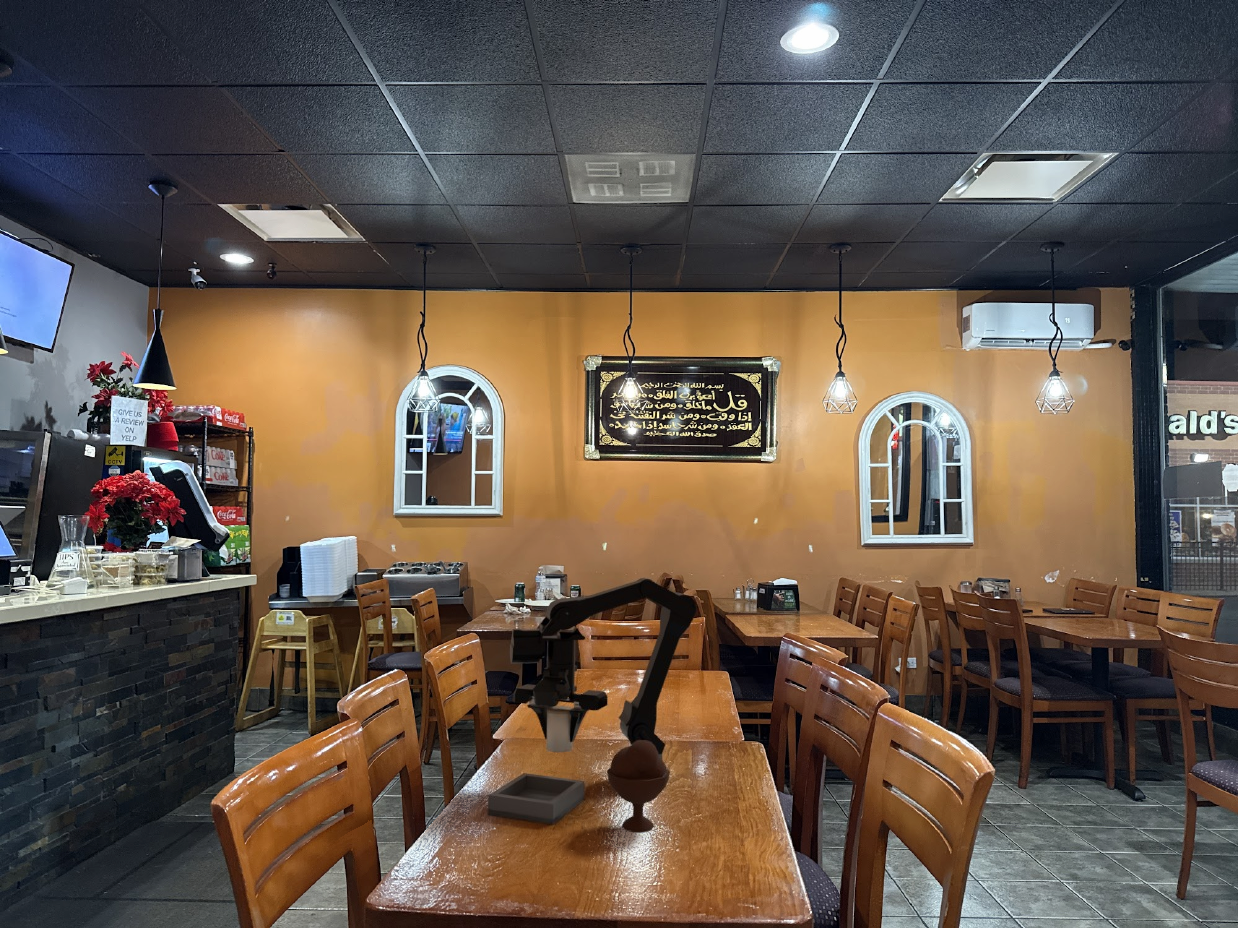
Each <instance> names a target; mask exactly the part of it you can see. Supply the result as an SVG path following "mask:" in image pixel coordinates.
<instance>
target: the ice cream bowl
mask: <svg viewBox="0 0 1238 928" xmlns="http://www.w3.org/2000/svg"><path fill="white" fill-rule="evenodd" d="M606 772H607V773H606V774H607V779H608V782H609V784H610V786H611V788H612V789H613V790H614V791H615V792H616V794H618V796H619V797H620V798H621V799H623V800H624V801H625V802H629V803H631V804H632V808H633V810H632V811H633V812H632V816H630V817H629V818H627V819H625V820H624V821H623V822H622V825H621V826H622V828H623V830H625V831H628V832H632V833H645V832H649V831H651V830H652V829H654V827H655V826H654V823H653V821H652V820H650V819H649V818H647V817H645V816H644V806H645V804H646V803H649V802H651V801H653V800H655V799H656V798H657V797H658V796H659V795H660V793H662V792H663V790H664V789H666V787H667V784H668V782H669V779H670V774H671V771H670V770H669V769H668V767H667V766H666V764H665V762H664V760H663V759H662V760H661V759H660V758H659V754H658V751H657V749H656V747H655V746H654V745H653V744H652V742H650V741H647V740H637V741H635V742H634V743H633V744H632V745H631V744H630V745H629V746H625V747H623V748H620V749H619V750H618V751H617V752H616V753H615V754H614V756H613V757H612V759H611V762H610V767H609V769H606ZM652 831H653V830H652Z"/></svg>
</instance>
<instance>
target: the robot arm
mask: <svg viewBox="0 0 1238 928" xmlns="http://www.w3.org/2000/svg"><path fill="white" fill-rule="evenodd" d="M644 599H646V600H648V601H650V602H651V603H653V604H655V605H656V606H658V607H660V608H661V610H660V615H659V631H658V635H657V638H656V641H655V644H654V646H653V650H652V652H651V655H650V658H649V660H648V663H647V666H646V670H645V672H644V675H643V678H642V680H641V684H640V687H639V689H638V692H637V694H636V696H635V697H634V698H633V700H632V701H631V702H630V701H629V700H626V699H625V700H624V703H623V707H622V712H621V714H620V715H619V716H618V719H619V720H620V722H619V729H620V731H621V733H622V734H623V736H624V737H625V738H626V739H627V740H628V741H629V744H630V746H631V745H632V744H633V743H634V742H635V741H637V740H647V741H650V742H652V744H653V745H654V746H655V747H656V749H657V751H658V754H659V758H660V759H661V760H663V753H664V750H665V747H666V744H665V742H664V741H663V739H661V738H660V737H659V736H658V735H657V734H656V733H655V731H656V726H657V725H656V724H657V717H658V715H657V714H658V713H657V710H658V702H659V698H660V696H661V693H662V690H663V688H664V684H665V681H666V679H667V675H668V673H669V671H670V666H671V665H672V662H673V658H674V656H675V653H676V650H677V646H678V644H679V642H680V639H681V638H682V637H683V635H684V633H686V632H687V630H688V629H689V627H690V626H691V624H692V622H693V620H694V619H695V616H696V614H697V611H698V605H697V603H696V601H695V600H694V598H693V597H692V596H690V595H688V594H685V593H681V592H675V591H674V592H673V591H671V590H669V589H667V588H665V587H663V586H661V585H660V584H658V583H656V581H654V580H652V579H650V578H646V577H640V578H638V579H637V580H635V581H631V582H629V583H625V584H622V585H619V586H616V587H612V588H610V589H607V590H602V591H600V592H596V593H593V594H589V595H586V596H572V597H566V598H565V597H564V598H557V599H554V600H552V601H551V602H550V603H549V604H548V606H547V608H546V613H545V616H544V618H543V619H542V620H541V622H540V623H539V625H538V626H537V627H536V628H535V629H522V628H513V629H512V630H511V633H512V634H511V639H510V640H511V641H510V644H509V660H510V664H539V663H540V660H543V658H545V656H546V667H544V668H543V672H542V673H543V675H542V678H541V679H540V680H538V682H537V683H536V684H523V685H521V686H519V687H517V688H516V689H515V690H514V692H513V703H516V704H525V705H526V704H527V705H526V707H527V708H528V709H531V710H532V711H533V712H534V713H535V715H536V717H537V719H538V721H539V725H540V728H541V731H542V733H543V737H544V739H545V740H547V708H548V707H554V706H558V704H559V703H560V702H561V703H568V704H569V703H570V704H573V708H572V709H570V710H569V712H570V715H571V725H570V742H572V743H574V741H575V739H576V738H577V735H578V732H579V729H580V727H581V724H582V722H583V720H584V718H585V717H586V714H587V712H588V711H593V712H595V711H596V712H597V711H599V710H601V709H603V708H605V707H607V706H608V698H609V697H608V695H607V693H606V691H604V690H592V689H588V690H587V691H585V692H582V693H575V692H577V691H578V686H577V685H576V684H575V683H576V681H575V680H576V679H575V676H576V675H575V674H576V672H577V671H578V665H576V641H585V640H586V637H585V636H584V635H583V633H581V631H580V629H579V628H578V627H576V626H578V625H579V624H582V623H584V622H585V621H586V620H588V619H590V618H591V617H593V616H594V615H597V614H601V613H603V612H606V611H610V610H613V609H616V608H619V607H621V606H625V605H628V604H632V603H635V602H638V601H641V600H644ZM572 628H573V629H572ZM570 629H572V630H570ZM567 630H568V631H567ZM555 634H556V635H555ZM546 642H547V644H546ZM546 646H547V647H546Z"/></svg>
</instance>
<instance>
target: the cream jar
mask: <svg viewBox="0 0 1238 928" xmlns="http://www.w3.org/2000/svg"><path fill="white" fill-rule="evenodd" d="M572 708H574V706H570V705H569V706H568V705H556V706H554V707H548V708H547V739H546V751H548V752H550V753H566V752H571V751H572V750H573V742H570V725H571V715H570V712H569V710H570V709H572Z"/></svg>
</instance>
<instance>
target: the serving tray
mask: <svg viewBox="0 0 1238 928" xmlns="http://www.w3.org/2000/svg"><path fill="white" fill-rule="evenodd" d="M585 783H586V781H584V780H581V779H580V780H579V779H573V778H564V777H558V776H548V775H541V774H534V773H527V772H526V773H525V772H523V773H522V774H520V775H518V776H516V778H514V779H512V780H510V781H508V782H507V783H505V784H504V785H502V786H500V787H499V788H497V789H496V790H494V791H492V792H491V793H489V794H488V796H487V797H488V801H487V803H488V805H487V815H489V816H494V817H500V818H506V819H507V818H508V819H513V820H519V821H520V820H521V821H525V822H531V823H532V822H533V823H539V824H544V825H551V826H554V825H555V824H556V823H558V822H559V821H560V820H561V819H563V817H565V816H566V815H567V814H568V813H570V812H571V811H572V810H574V809H575V808H577V806H579V804H581V803H583V802H584V801H585V788H586V787H585Z"/></svg>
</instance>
